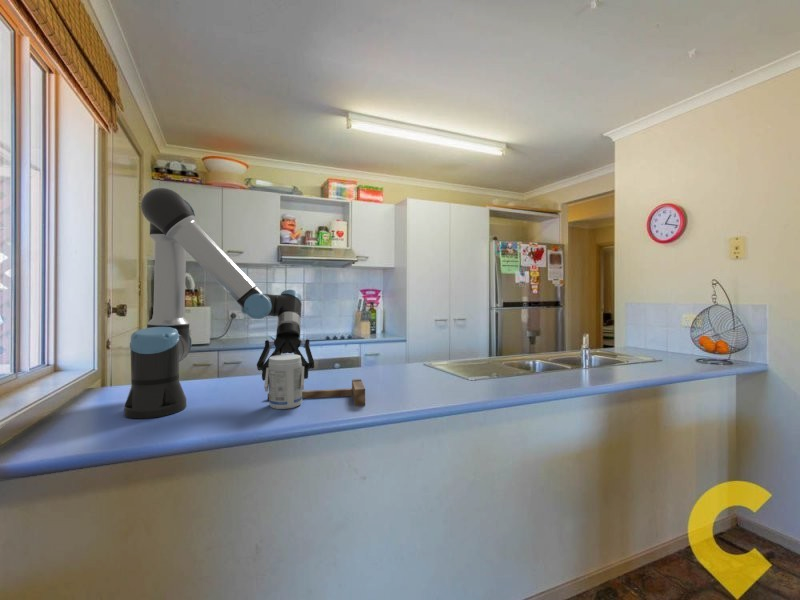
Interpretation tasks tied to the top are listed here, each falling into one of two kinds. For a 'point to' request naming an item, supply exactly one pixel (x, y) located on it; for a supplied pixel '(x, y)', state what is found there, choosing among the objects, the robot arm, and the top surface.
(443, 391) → the top surface
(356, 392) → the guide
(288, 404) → the supplement tub
